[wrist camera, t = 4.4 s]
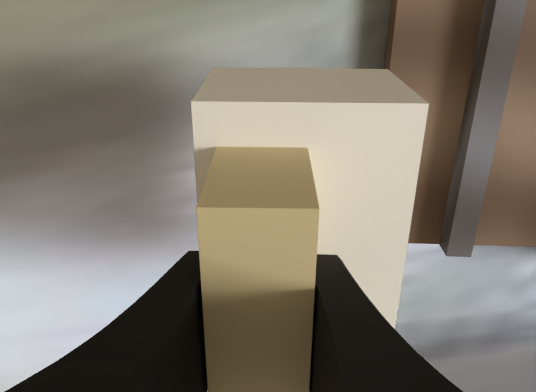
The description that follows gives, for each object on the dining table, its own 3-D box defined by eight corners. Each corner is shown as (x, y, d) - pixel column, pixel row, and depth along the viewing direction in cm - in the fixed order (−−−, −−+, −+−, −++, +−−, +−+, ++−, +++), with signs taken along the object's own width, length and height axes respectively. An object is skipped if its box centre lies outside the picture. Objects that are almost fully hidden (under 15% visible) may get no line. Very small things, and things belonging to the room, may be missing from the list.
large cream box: (362, 297, 17) (414, 490, 11) (222, 295, 17) (191, 486, 11) (387, 69, 14) (486, 152, 7) (213, 67, 14) (159, 148, 7)
